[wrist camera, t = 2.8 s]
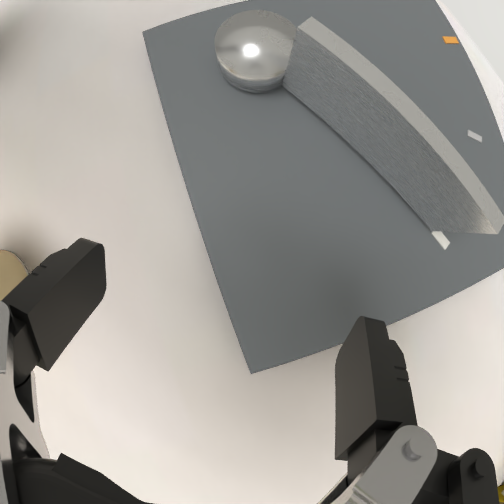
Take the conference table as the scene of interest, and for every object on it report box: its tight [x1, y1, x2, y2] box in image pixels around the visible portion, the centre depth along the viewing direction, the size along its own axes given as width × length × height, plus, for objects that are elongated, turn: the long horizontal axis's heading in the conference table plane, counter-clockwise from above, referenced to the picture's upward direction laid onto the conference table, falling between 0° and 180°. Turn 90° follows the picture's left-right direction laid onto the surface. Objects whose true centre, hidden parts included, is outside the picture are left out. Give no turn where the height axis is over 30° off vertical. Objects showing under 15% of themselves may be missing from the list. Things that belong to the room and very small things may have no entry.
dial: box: [214, 10, 504, 234], centre depth 18 cm, size 22×6×8 cm, turn 48°
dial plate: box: [143, 0, 504, 374], centre depth 24 cm, size 30×30×2 cm
